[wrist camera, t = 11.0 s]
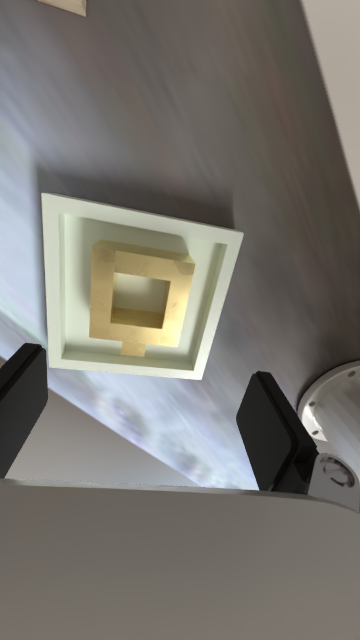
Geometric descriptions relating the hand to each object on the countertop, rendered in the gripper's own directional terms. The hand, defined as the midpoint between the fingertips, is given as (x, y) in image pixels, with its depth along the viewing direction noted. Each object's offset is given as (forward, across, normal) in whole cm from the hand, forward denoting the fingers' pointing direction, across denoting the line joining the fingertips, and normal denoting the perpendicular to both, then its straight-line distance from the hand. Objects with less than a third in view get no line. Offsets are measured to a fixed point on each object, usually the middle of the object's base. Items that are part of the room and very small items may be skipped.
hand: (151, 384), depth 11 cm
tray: (+12, +2, 0) cm, 12 cm away
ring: (+11, +1, -1) cm, 11 cm away
